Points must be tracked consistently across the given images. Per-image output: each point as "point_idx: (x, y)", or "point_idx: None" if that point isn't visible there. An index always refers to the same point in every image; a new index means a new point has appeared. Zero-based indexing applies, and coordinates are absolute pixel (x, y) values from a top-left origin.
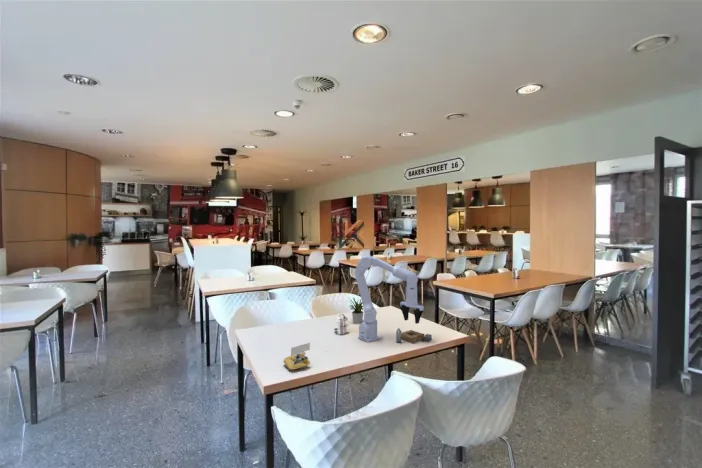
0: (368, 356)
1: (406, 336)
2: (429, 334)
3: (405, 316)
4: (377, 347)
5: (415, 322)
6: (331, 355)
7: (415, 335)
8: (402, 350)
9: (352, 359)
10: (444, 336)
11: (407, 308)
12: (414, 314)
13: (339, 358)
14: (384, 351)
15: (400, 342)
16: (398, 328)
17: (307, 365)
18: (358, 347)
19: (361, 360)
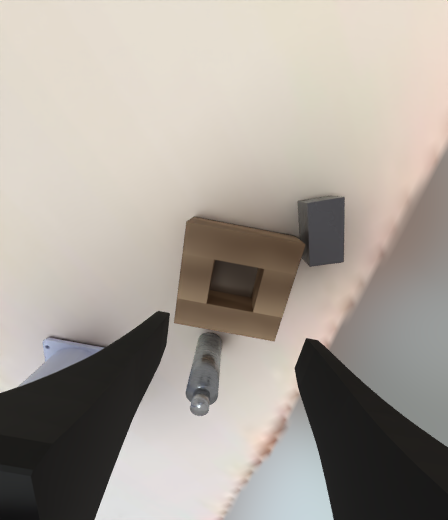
0: (212, 479)
1: (230, 330)
2: (328, 201)
3: (150, 375)
4: (180, 422)
5: (299, 379)
6: (130, 512)
7: (270, 300)
8: (274, 399)
9: (192, 506)
10: (394, 67)
11: (82, 466)
12: (333, 512)
13: (161, 515)
14: (225, 435)
15: (221, 348)
16: (196, 408)
17: None
18: (133, 450)
19: (216, 502)
